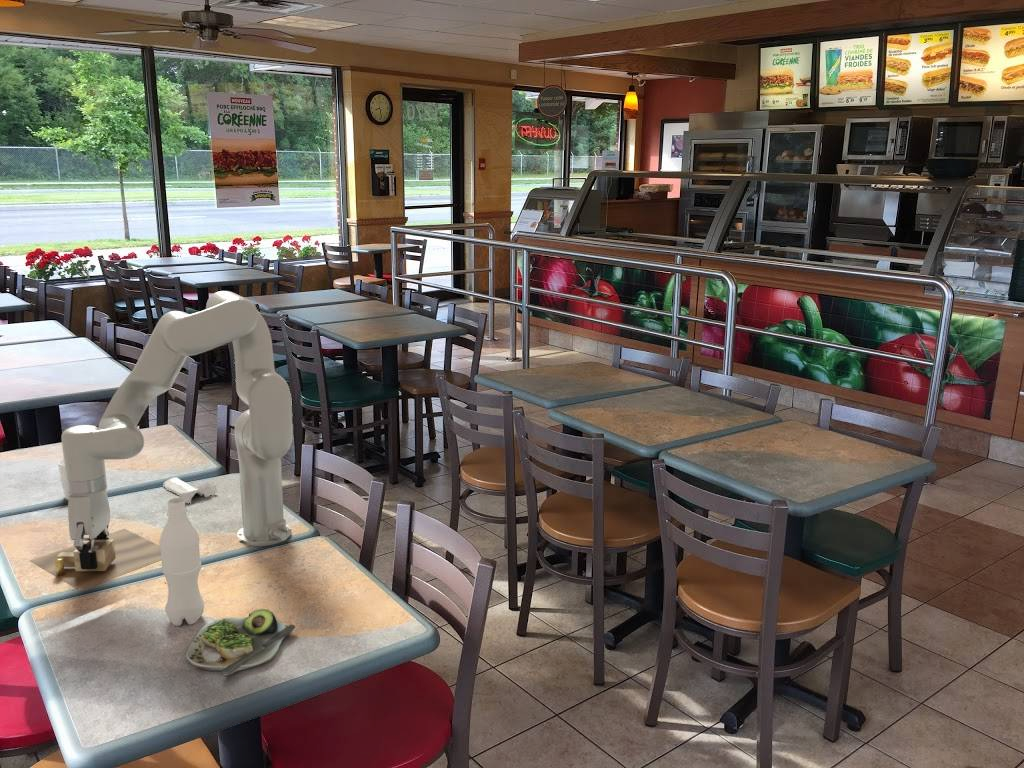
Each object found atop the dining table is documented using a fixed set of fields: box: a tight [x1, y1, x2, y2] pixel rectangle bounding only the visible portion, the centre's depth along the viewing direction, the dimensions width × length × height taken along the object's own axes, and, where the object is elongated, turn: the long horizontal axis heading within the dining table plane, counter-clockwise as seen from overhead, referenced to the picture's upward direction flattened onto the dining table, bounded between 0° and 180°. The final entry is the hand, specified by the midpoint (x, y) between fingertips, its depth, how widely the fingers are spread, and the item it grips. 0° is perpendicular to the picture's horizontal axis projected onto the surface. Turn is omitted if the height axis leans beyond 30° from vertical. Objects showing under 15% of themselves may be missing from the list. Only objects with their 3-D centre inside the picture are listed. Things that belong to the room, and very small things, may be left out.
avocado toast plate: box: [185, 608, 296, 677], centre depth 154 cm, size 19×18×5 cm
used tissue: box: [162, 476, 219, 505], centre depth 229 cm, size 11×18×4 cm, turn 37°
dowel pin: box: [55, 558, 65, 577], centre depth 179 cm, size 2×2×4 cm
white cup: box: [57, 458, 69, 501], centre depth 224 cm, size 8×8×10 cm
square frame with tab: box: [57, 539, 116, 571], centre depth 181 cm, size 10×6×4 cm, turn 93°
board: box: [29, 528, 162, 592], centre depth 187 cm, size 22×22×6 cm
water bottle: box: [158, 497, 205, 627], centre depth 162 cm, size 7×7×25 cm
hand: (95, 560), depth 182 cm, fingers closed on square frame with tab, 6 cm apart
